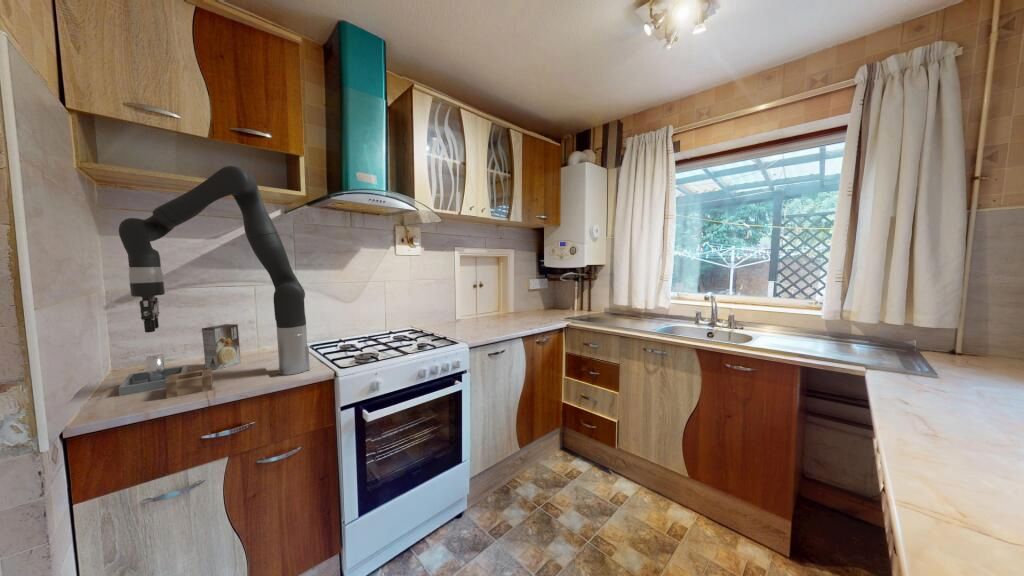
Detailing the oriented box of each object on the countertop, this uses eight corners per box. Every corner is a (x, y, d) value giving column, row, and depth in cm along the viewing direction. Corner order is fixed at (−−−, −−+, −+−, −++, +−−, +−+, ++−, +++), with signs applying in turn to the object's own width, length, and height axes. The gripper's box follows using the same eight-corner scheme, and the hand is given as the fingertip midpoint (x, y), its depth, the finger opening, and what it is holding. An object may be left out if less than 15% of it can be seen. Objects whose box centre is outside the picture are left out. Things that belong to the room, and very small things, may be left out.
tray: (187, 374, 123) (187, 365, 123) (184, 387, 111) (183, 377, 110) (130, 384, 114) (129, 374, 114) (119, 399, 101) (118, 387, 101)
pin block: (212, 384, 113) (211, 368, 113) (212, 393, 106) (211, 375, 105) (170, 392, 107) (169, 375, 106) (167, 401, 99) (165, 383, 99)
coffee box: (228, 362, 139) (226, 323, 138) (241, 362, 138) (238, 324, 137) (204, 369, 130) (201, 327, 129) (217, 369, 129) (214, 328, 128)
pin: (166, 379, 115) (163, 353, 115) (165, 382, 112) (162, 355, 112) (148, 382, 113) (146, 356, 112) (147, 385, 110) (145, 358, 109)
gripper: (160, 281, 107) (165, 331, 108) (165, 279, 117) (170, 325, 119) (124, 282, 102) (131, 335, 103) (133, 281, 113) (139, 328, 114)
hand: (152, 330), depth 111 cm, fingers open, 8 cm apart
